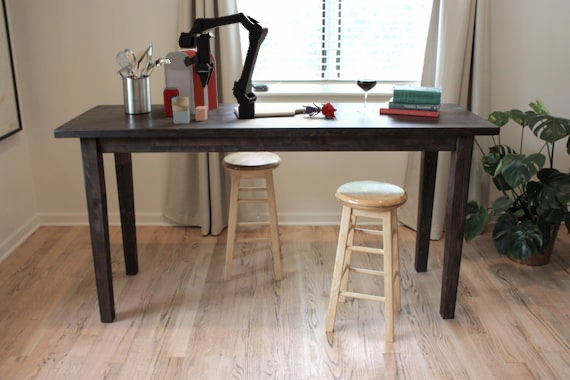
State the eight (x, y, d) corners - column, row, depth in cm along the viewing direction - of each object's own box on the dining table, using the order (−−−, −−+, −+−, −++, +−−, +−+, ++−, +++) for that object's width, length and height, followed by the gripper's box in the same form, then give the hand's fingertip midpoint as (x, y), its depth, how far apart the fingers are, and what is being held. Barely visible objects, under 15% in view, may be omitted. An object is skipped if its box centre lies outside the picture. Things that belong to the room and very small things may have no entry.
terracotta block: (198, 118, 260) (197, 106, 258) (207, 118, 259) (206, 106, 258) (195, 120, 254) (195, 108, 252) (205, 120, 254) (204, 108, 252)
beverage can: (177, 117, 262) (175, 89, 258) (162, 116, 263) (160, 88, 260) (182, 114, 268) (181, 87, 265) (168, 114, 269) (166, 86, 266)
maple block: (189, 109, 250) (188, 97, 249) (187, 111, 247) (186, 98, 245) (174, 109, 251) (173, 97, 249) (172, 111, 247) (171, 98, 245)
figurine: (304, 113, 262) (339, 114, 259) (300, 121, 255) (336, 122, 252) (304, 99, 259) (339, 100, 256) (300, 106, 252) (336, 108, 249)
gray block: (190, 121, 252) (189, 109, 250) (188, 123, 248) (187, 111, 247) (175, 121, 252) (174, 109, 251) (173, 123, 248) (172, 111, 247)
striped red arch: (219, 108, 284) (216, 48, 276) (194, 113, 269) (190, 51, 262) (191, 105, 292) (188, 47, 284) (166, 111, 278) (161, 50, 270)
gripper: (188, 47, 266) (190, 83, 271) (180, 50, 248) (182, 89, 253) (213, 47, 266) (215, 83, 270) (207, 50, 248) (209, 89, 252)
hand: (205, 86), depth 261 cm, fingers open, 9 cm apart
